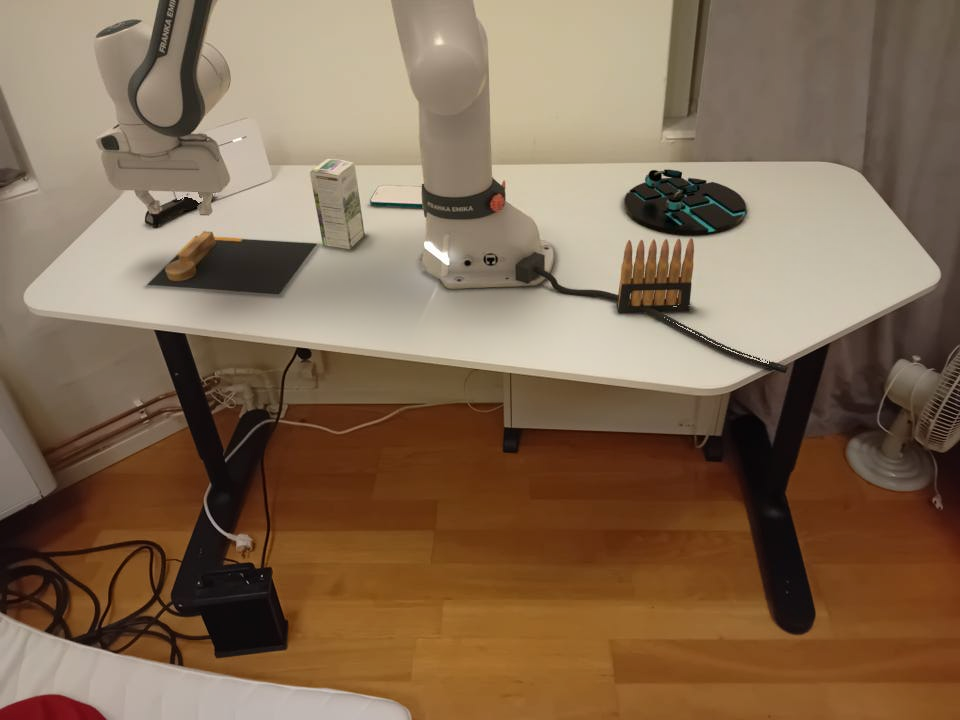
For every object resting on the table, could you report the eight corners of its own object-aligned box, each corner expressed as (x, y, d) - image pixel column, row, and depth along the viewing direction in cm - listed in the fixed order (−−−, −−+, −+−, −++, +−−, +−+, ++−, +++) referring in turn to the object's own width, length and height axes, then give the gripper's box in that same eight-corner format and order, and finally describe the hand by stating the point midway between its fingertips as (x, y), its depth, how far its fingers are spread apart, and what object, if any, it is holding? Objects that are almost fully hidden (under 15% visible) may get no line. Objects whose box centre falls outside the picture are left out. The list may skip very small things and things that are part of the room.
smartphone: (456, 191, 150) (379, 188, 152) (456, 187, 149) (379, 184, 152) (449, 210, 144) (369, 206, 146) (449, 205, 143) (368, 202, 145)
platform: (700, 174, 151) (704, 143, 147) (770, 219, 134) (777, 185, 130) (603, 195, 145) (604, 164, 141) (664, 245, 129) (668, 211, 125)
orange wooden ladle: (199, 243, 137) (196, 230, 135) (223, 244, 136) (220, 232, 134) (162, 280, 127) (157, 267, 125) (187, 282, 126) (183, 269, 124)
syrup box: (338, 232, 138) (324, 157, 130) (366, 236, 137) (354, 160, 128) (322, 246, 134) (307, 170, 125) (351, 251, 133) (338, 174, 124)
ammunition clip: (617, 313, 113) (623, 243, 106) (616, 306, 115) (621, 237, 107) (689, 311, 113) (699, 241, 105) (686, 304, 114) (697, 234, 107)
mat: (317, 245, 135) (317, 243, 135) (279, 296, 122) (278, 293, 121) (196, 238, 139) (196, 235, 139) (147, 286, 126) (146, 284, 126)
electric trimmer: (222, 199, 153) (218, 185, 151) (155, 228, 143) (150, 213, 141) (211, 195, 154) (207, 180, 153) (144, 224, 145) (139, 208, 143)
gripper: (223, 126, 117) (246, 206, 126) (109, 125, 121) (138, 203, 130) (204, 141, 113) (229, 224, 121) (85, 140, 117) (117, 220, 125)
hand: (181, 213), depth 125 cm, fingers open, 8 cm apart
